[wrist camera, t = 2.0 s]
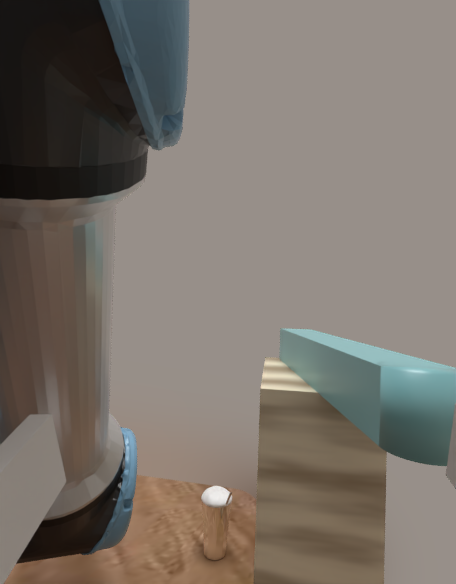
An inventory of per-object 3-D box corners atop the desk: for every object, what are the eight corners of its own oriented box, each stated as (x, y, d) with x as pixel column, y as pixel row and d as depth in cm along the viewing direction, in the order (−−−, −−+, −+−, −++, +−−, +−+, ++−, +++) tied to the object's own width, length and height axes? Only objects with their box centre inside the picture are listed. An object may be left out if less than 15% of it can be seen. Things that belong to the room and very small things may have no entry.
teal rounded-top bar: (488, 467, 16) (489, 376, 16) (400, 464, 15) (401, 373, 16) (304, 357, 48) (305, 328, 48) (276, 356, 48) (277, 327, 48)
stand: (379, 798, 26) (387, 397, 27) (247, 769, 28) (260, 388, 29) (336, 599, 44) (342, 361, 45) (257, 588, 45) (265, 357, 47)
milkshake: (215, 572, 48) (218, 498, 48) (193, 550, 52) (196, 482, 52) (239, 557, 51) (242, 487, 51) (216, 538, 55) (219, 473, 55)
